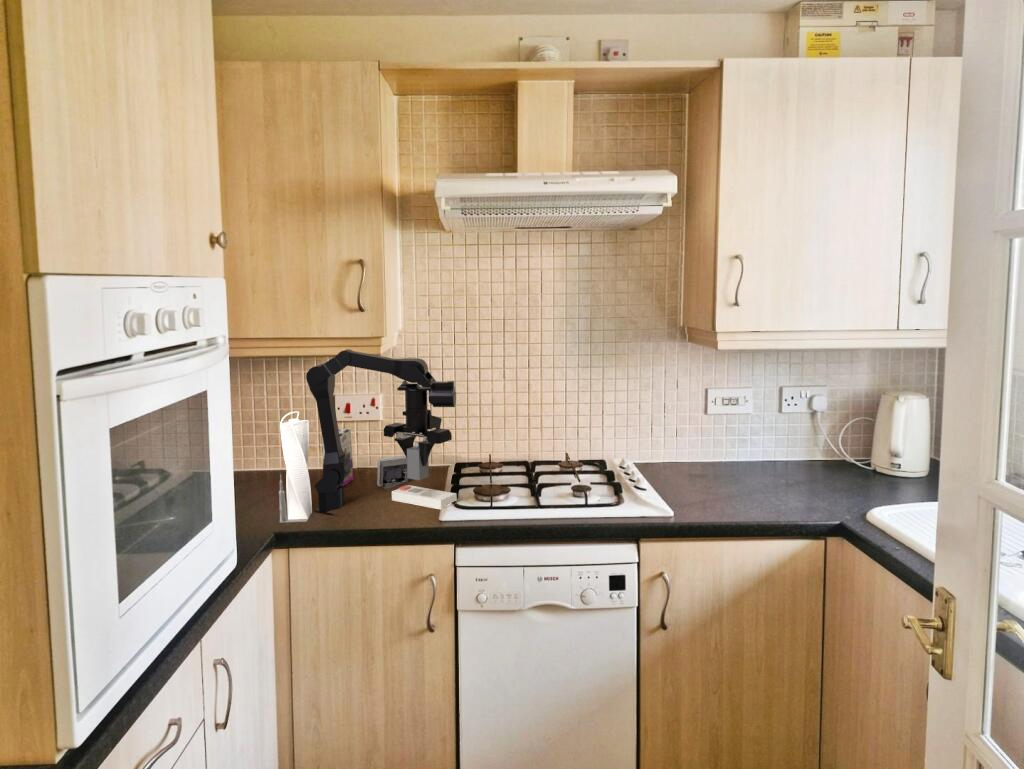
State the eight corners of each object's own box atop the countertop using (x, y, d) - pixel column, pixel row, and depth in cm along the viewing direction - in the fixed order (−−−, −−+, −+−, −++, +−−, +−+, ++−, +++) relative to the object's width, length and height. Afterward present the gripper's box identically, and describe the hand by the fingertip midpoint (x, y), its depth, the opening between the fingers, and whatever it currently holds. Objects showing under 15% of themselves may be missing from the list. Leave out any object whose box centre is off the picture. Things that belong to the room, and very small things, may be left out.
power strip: (441, 513, 198) (440, 498, 198) (392, 503, 207) (391, 489, 207) (456, 505, 204) (456, 491, 204) (408, 496, 213) (407, 482, 213)
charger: (419, 480, 197) (418, 444, 195) (407, 478, 199) (406, 442, 198) (428, 476, 200) (428, 441, 199) (416, 474, 202) (416, 439, 201)
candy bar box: (338, 479, 233) (336, 427, 230) (354, 479, 232) (351, 428, 229) (323, 489, 222) (320, 435, 219) (339, 490, 221) (336, 436, 218)
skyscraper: (286, 513, 202) (280, 411, 197) (317, 512, 202) (311, 410, 198) (279, 523, 193) (272, 417, 189) (311, 522, 194) (304, 416, 190)
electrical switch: (407, 482, 228) (406, 453, 226) (411, 488, 224) (411, 458, 222) (376, 486, 225) (375, 456, 223) (381, 492, 220) (380, 462, 218)
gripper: (463, 405, 199) (463, 462, 201) (407, 399, 208) (409, 453, 211) (438, 412, 189) (439, 472, 192) (381, 405, 199) (383, 462, 201)
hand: (417, 464), depth 199 cm, fingers closed on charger, 4 cm apart
